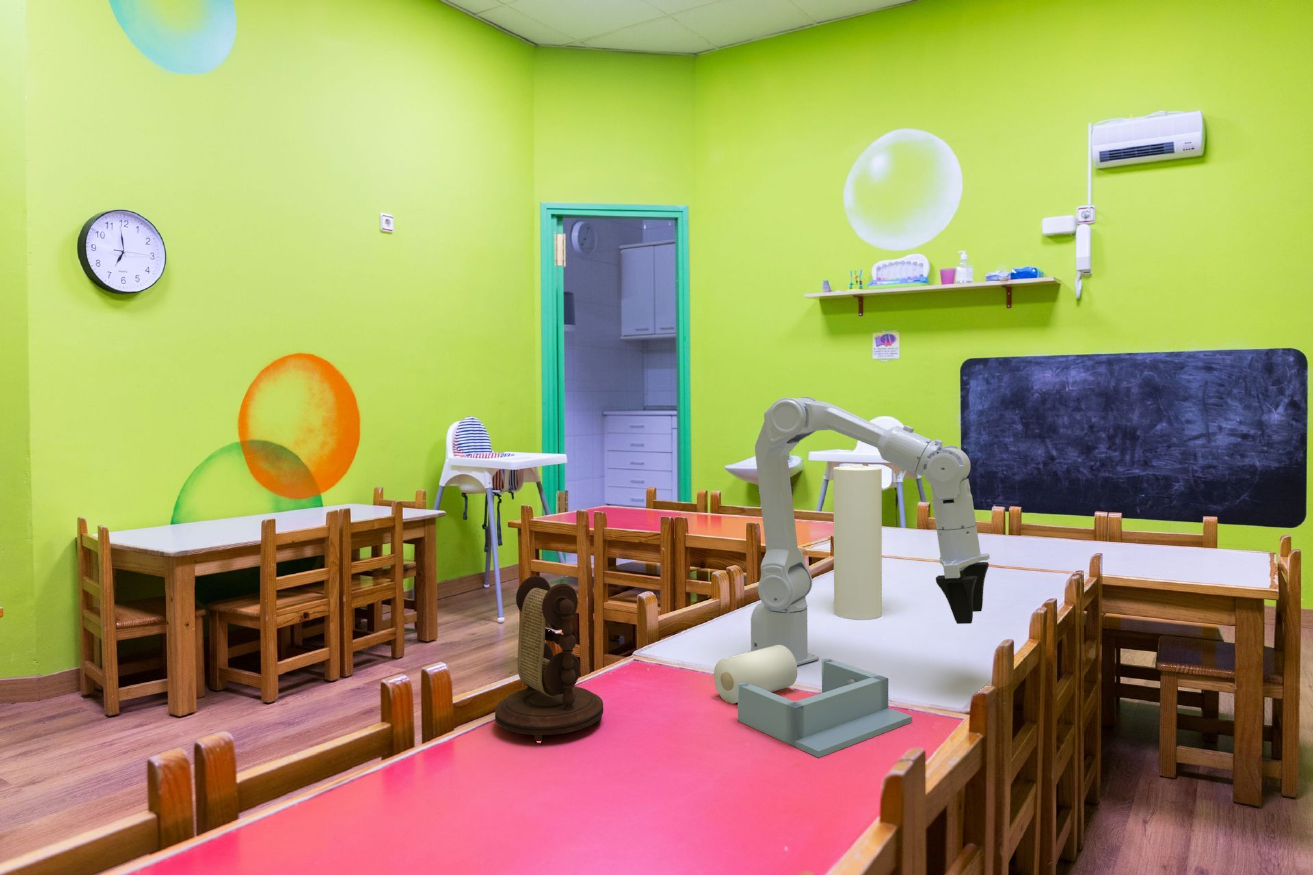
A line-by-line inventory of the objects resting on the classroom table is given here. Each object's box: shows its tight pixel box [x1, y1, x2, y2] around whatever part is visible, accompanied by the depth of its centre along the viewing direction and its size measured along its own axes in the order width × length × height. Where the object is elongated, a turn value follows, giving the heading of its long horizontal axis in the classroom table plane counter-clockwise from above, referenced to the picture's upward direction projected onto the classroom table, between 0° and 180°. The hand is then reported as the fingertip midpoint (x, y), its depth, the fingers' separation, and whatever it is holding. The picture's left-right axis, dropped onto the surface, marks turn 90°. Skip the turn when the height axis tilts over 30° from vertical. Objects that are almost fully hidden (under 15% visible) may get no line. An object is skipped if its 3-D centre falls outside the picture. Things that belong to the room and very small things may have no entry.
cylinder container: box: [832, 464, 883, 621], centre depth 170 cm, size 9×9×30 cm
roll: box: [713, 645, 799, 705], centre depth 126 cm, size 12×6×6 cm, turn 126°
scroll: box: [494, 575, 604, 742], centre depth 115 cm, size 15×15×20 cm
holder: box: [737, 658, 913, 758], centre depth 115 cm, size 15×18×5 cm
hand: (969, 616), depth 127 cm, fingers open, 7 cm apart
